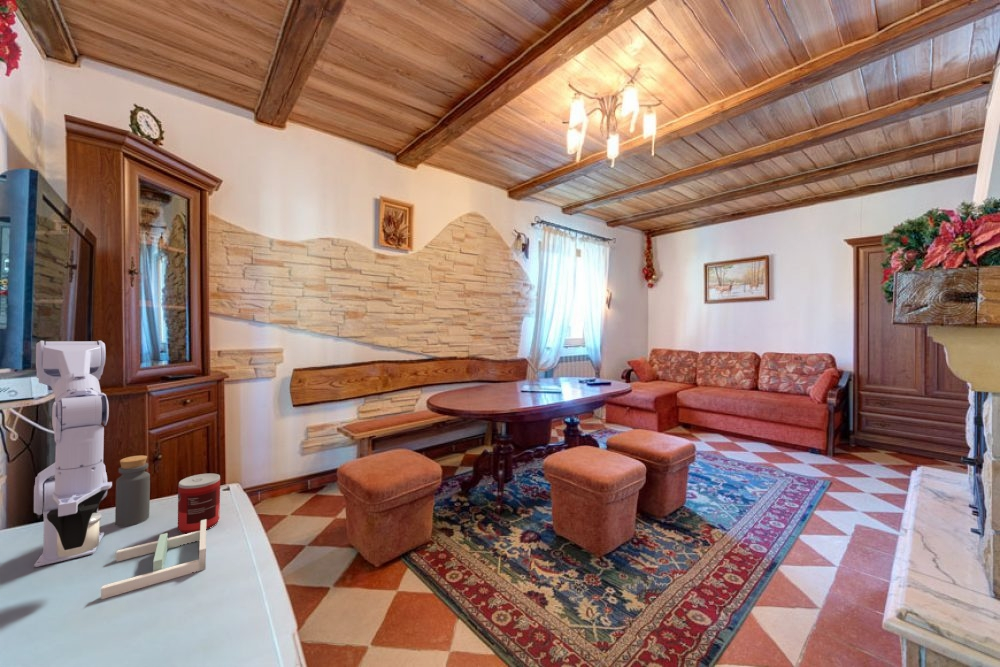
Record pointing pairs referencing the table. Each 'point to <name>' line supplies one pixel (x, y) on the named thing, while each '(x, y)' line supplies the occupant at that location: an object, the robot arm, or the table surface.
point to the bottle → (132, 492)
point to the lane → (163, 573)
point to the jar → (90, 539)
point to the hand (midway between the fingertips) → (78, 539)
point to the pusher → (160, 553)
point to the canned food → (198, 502)
